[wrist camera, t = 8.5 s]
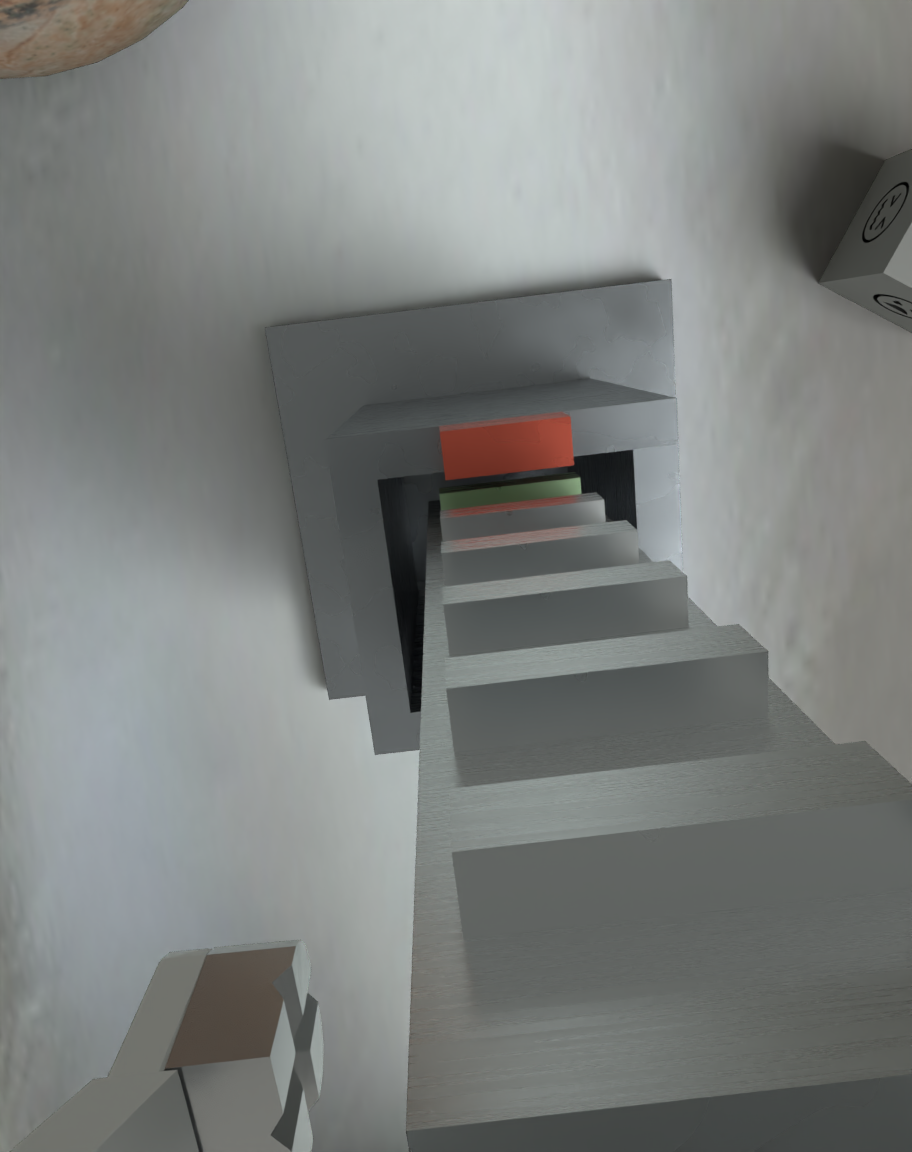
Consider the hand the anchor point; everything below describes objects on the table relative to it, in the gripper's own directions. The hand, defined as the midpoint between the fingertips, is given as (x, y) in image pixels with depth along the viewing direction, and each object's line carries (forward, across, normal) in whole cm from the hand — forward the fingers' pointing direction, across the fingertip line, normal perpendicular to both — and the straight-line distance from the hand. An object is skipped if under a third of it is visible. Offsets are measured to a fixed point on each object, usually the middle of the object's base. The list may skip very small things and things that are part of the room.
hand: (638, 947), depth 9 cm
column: (+16, 0, 0) cm, 16 cm away
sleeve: (+27, 0, 0) cm, 27 cm away
